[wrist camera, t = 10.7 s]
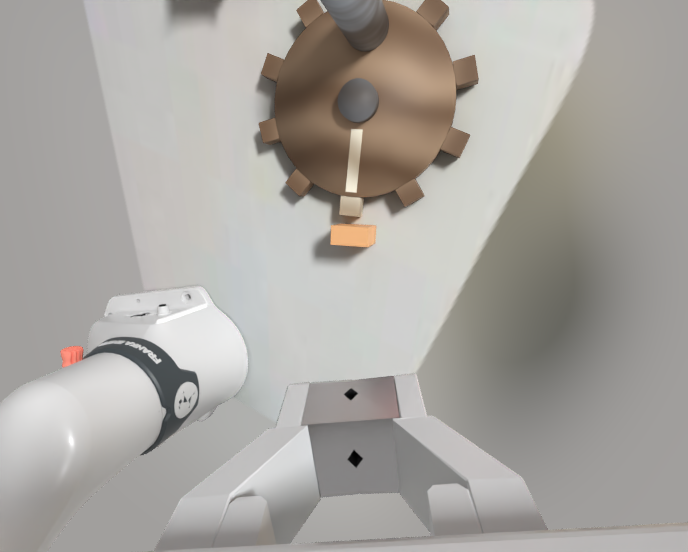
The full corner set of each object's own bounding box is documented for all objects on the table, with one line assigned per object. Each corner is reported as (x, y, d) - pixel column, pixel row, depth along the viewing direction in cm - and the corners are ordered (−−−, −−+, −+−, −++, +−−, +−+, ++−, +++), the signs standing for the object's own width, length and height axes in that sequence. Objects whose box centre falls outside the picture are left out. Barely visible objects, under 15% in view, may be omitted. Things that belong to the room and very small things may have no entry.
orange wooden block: (340, 241, 46) (330, 244, 42) (341, 223, 45) (331, 225, 42) (375, 243, 45) (367, 247, 41) (376, 225, 44) (368, 227, 41)
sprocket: (455, 226, 42) (455, 235, 31) (261, 205, 47) (202, 205, 36) (493, -20, 37) (508, -114, 26) (272, -12, 43) (208, -87, 32)
